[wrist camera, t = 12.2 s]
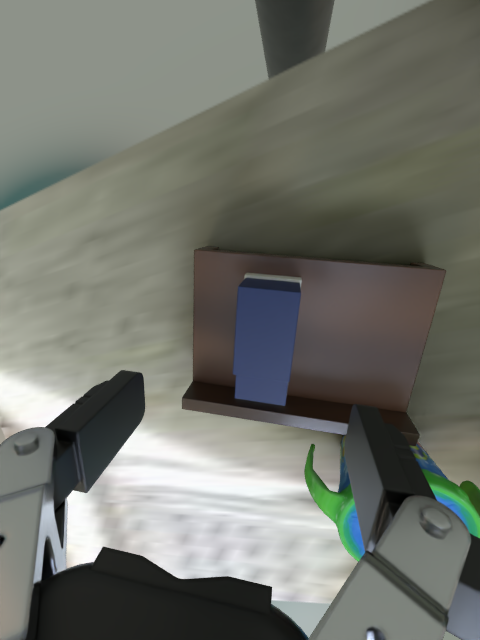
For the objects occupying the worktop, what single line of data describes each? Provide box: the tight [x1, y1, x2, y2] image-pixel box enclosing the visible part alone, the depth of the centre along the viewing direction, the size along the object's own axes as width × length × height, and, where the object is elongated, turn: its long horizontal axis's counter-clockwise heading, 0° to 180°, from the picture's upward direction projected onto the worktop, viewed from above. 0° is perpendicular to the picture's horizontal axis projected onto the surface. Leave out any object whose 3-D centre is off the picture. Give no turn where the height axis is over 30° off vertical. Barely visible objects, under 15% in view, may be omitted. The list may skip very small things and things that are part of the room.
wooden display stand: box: [182, 246, 446, 446], centre depth 27 cm, size 14×20×7 cm
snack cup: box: [305, 435, 480, 562], centre depth 28 cm, size 16×10×10 cm
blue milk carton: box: [233, 273, 302, 406], centre depth 24 cm, size 11×5×5 cm, turn 176°
